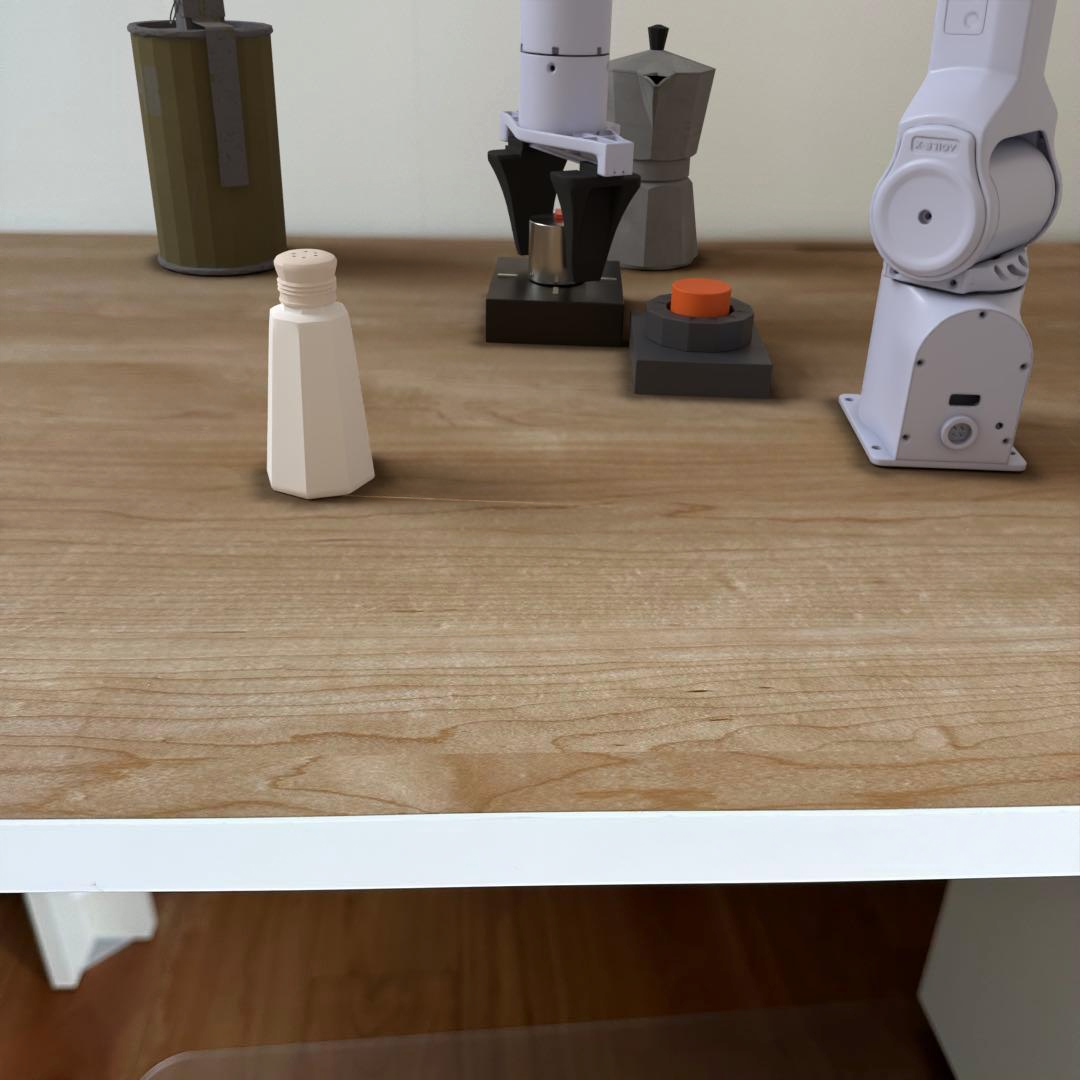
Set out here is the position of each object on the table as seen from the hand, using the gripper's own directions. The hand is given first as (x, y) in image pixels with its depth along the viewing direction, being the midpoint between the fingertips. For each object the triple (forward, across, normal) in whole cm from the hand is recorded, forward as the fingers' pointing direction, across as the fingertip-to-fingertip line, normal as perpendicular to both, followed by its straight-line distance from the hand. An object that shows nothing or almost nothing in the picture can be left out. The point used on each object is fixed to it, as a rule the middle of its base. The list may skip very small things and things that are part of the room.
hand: (557, 266), depth 78 cm
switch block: (+4, -12, -3) cm, 13 cm away
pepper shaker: (+4, -18, +23) cm, 29 cm away
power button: (0, -12, -3) cm, 13 cm away
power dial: (+1, 0, 0) cm, 1 cm away
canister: (+4, +25, +17) cm, 30 cm away
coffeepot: (+4, +14, -16) cm, 22 cm away
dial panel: (+4, 0, 0) cm, 4 cm away
